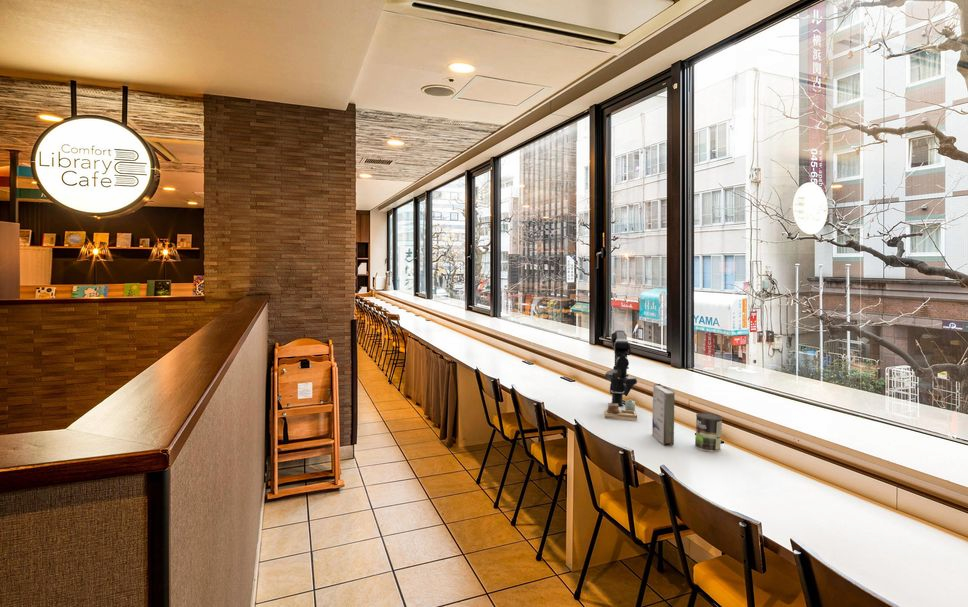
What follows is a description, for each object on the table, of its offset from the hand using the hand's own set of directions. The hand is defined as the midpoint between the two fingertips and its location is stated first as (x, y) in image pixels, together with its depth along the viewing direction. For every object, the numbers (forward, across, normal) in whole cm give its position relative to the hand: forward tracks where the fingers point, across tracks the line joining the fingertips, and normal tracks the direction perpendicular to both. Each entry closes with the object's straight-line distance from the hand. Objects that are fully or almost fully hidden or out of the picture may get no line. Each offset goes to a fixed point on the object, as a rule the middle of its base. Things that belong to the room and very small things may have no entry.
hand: (620, 393), depth 268 cm
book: (+11, +40, -8) cm, 42 cm away
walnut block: (+10, +1, -5) cm, 11 cm away
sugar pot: (+11, -1, +8) cm, 14 cm away
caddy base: (+11, +4, -2) cm, 12 cm away
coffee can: (+10, +55, +2) cm, 56 cm away
